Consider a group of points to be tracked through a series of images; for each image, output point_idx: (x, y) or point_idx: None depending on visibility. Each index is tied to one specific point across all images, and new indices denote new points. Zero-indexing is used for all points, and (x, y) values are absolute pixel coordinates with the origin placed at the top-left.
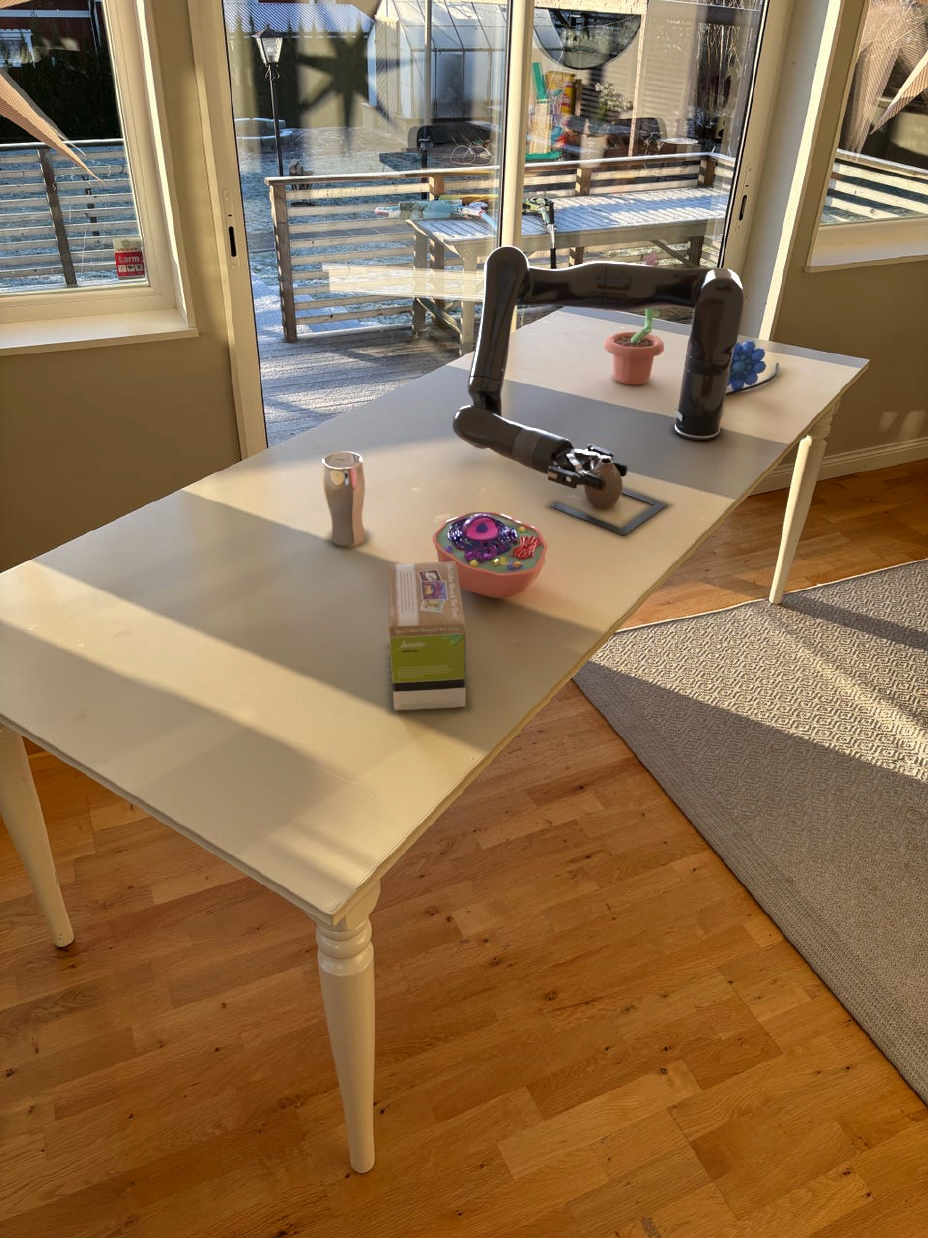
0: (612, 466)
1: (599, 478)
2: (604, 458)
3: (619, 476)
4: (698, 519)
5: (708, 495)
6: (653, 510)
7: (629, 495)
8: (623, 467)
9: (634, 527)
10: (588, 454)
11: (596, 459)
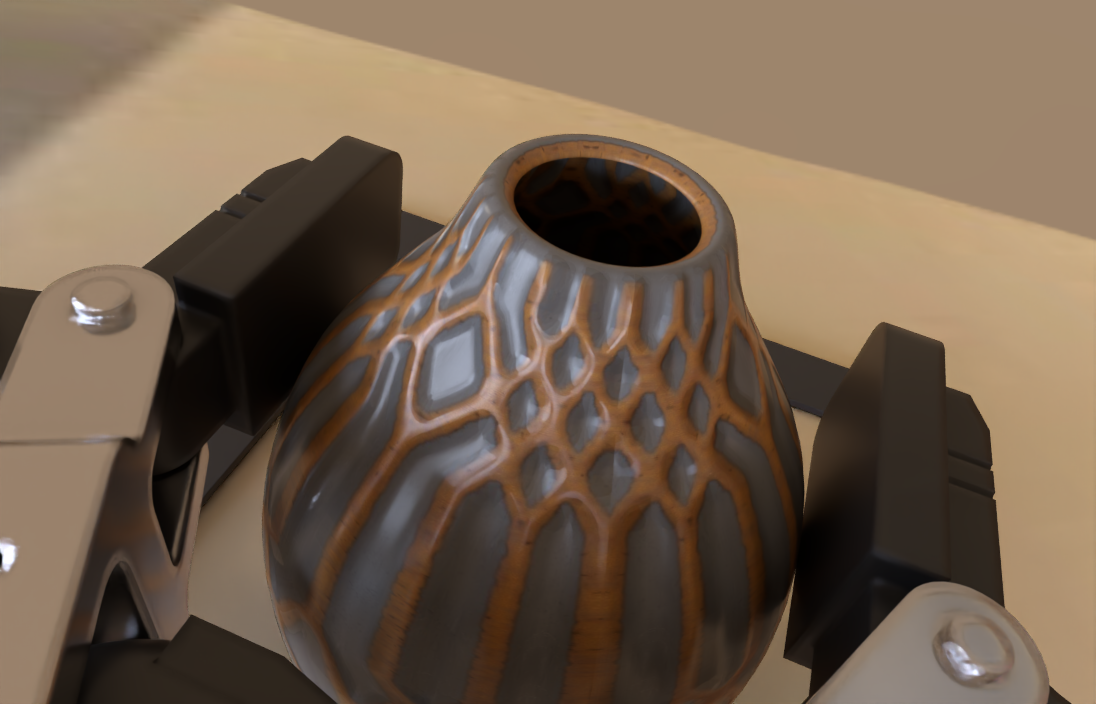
0: (637, 186)
1: (934, 375)
2: (518, 223)
3: (571, 242)
4: (501, 112)
5: (191, 62)
6: None
7: (280, 406)
8: (384, 176)
9: (791, 349)
10: (45, 658)
11: (135, 512)
